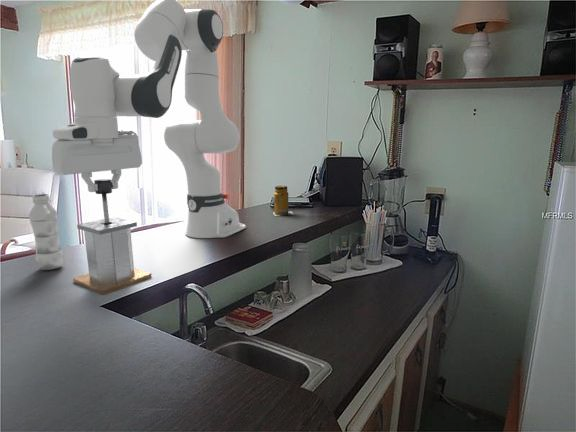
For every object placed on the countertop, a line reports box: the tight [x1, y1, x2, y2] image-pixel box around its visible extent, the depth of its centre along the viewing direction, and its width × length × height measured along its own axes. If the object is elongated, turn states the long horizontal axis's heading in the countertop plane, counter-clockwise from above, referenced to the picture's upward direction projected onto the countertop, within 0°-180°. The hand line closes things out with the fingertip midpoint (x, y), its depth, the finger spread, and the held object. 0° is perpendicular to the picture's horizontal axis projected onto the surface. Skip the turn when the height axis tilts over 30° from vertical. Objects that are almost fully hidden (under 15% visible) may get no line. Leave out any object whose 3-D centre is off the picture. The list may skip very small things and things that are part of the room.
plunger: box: [93, 178, 113, 225], centre depth 97 cm, size 7×7×17 cm
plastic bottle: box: [28, 193, 65, 271], centre depth 106 cm, size 6×7×20 cm
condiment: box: [272, 185, 295, 217], centre depth 172 cm, size 7×8×12 cm
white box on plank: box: [72, 216, 152, 296], centre depth 99 cm, size 13×13×14 cm
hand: (103, 190), depth 96 cm, fingers open, 4 cm apart
